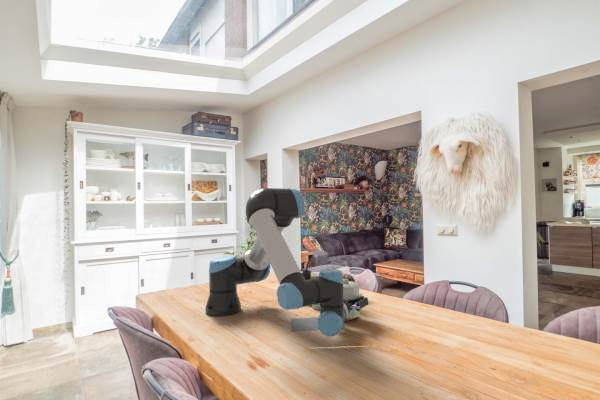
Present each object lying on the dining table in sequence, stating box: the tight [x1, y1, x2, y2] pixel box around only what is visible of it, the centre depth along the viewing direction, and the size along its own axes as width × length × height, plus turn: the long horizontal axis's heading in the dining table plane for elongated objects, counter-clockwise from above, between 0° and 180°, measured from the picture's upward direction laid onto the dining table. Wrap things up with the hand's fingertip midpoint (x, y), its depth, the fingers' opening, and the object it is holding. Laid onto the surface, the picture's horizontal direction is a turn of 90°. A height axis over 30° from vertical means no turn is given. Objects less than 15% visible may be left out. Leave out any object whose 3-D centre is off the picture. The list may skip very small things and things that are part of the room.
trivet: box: [290, 316, 320, 332], centre depth 125 cm, size 14×14×1 cm
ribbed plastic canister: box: [343, 279, 361, 319], centre depth 131 cm, size 10×10×14 cm
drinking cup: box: [300, 260, 313, 280], centre depth 157 cm, size 8×8×20 cm
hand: (347, 294), depth 135 cm, fingers closed on ribbed plastic canister, 10 cm apart
